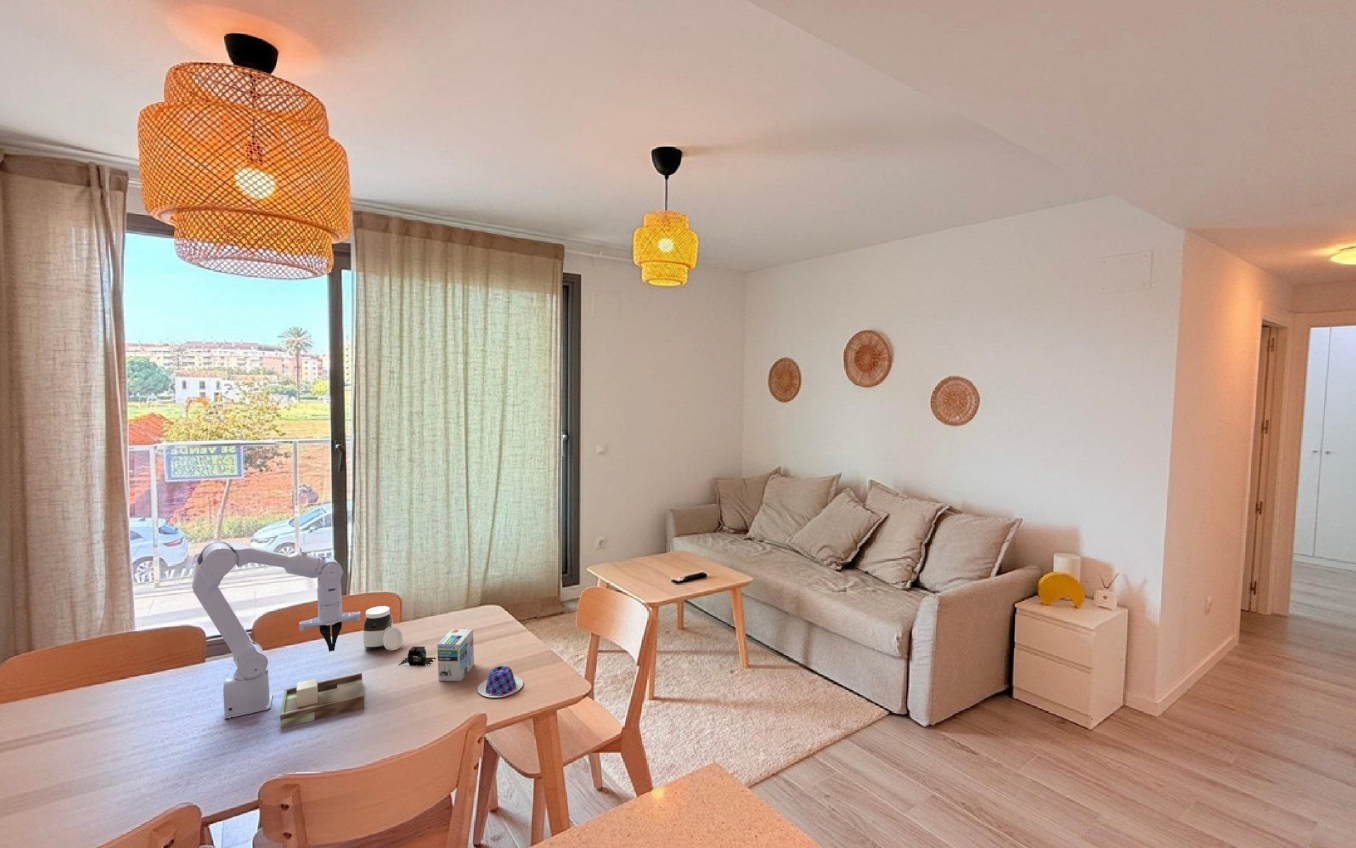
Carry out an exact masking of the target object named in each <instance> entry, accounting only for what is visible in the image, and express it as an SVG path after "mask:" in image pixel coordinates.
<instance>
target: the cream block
mask: <svg viewBox="0 0 1356 848" xmlns="http://www.w3.org/2000/svg"><path fill="white" fill-rule="evenodd" d="M318 682H319V681H318V678H312V679H309V680H304V681H300V682H296V683H297V684H296V687H297V707H301V706H305V705H309V704H314V703H318Z"/></svg>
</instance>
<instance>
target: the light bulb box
mask: <svg viewBox="0 0 1356 848" xmlns="http://www.w3.org/2000/svg"><path fill="white" fill-rule="evenodd" d="M436 646H437V666H438V667H437V671H438V672H437V673H438V674H437V676H438V681H443V682H444V681H446V682H450V681H451V682H461V681H462V680H463V679H464V678H465V676H467V674H468V673H469V671H470V670H471V669H472V668H473V667H474V665H475V655H474V653H475V652H474V650H475V649H474V647H475V646H474V629H462V628H461V629H459V628H451V630H449V632H447V634H446V635H445V636H444V637H443V638H442V639H441V640H440V641H439V642H438V643H437V645H436Z"/></svg>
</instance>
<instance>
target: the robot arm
mask: <svg viewBox="0 0 1356 848" xmlns="http://www.w3.org/2000/svg"><path fill="white" fill-rule="evenodd" d="M250 563H253V564H258V565H265V566H271V567H277V568H278V567H279V568H283V569H284V571H285V572H286V573H287V574H289V575H294V576H299V577H304V578H309V579H315V578H317V581H316V582H317V587H316V590H317V592H316V594H317V615H318V616H317V617H314V618H310V619H307V620H302V621H299V632H301V631H305V630H308V629H313V628H319V633H320V634H321V636H322V637H323V639H324V640H325V642H326V645H327V648H328V652H329V653H330V652H334V651H336V650H335V649H336V643H337V640H338V636H339V635H340V632H341V630H342V628H343V623H348V622H353V621H356V622H358V621H361V611H352V612H343V605H342V604H343V603H342V600H343V598H342V584H341V578H342V576H343V575H344V570H343V568H342V565H341V564H340V563H339V562H338V561H337V560H336V559H334V558H332V557H330V556H326V555H325V556H324V555H320V556H316V555H312V554H308V551H304V550H301V551H300V552H298V551H295V552H292V553H291V554H283V553H279V552H276V551H272V550H267V549H264V548H259V547H255V546H251V545H246V544H242V543H237V542H229V543H228V542H226V541H222V540H221V541H220V540H217V541H213V542H210V543H208V544H207V545H205V546H204V547H203V548H202V550H201V551H200V553H199V555H198V556H197V558H196V565H195V568H194V569H195V571H194V575H193V579H192V583H191V587H192V591H193V593H194V594H195V596H196V598H197V600H198V601H199V603H200V604H201V606H202V607H203V610H205V612H206V614H207V615H208V617H209V618H210V620H211V622H212V624H213V625H214V626H215V628H216V629H217V631H218V632H219V635H220V636H221V637H222V639H223V640H224V642H225V643H226V645H227V646H228V648H229V650H230V652H231V654H232V655H233V657H232V659H233V662H234V664H235V666H236V667H237V668H236V670H235V672H234V673H233V675H231V676H228V677H226V678H224V681H223V694H222V695H223V710H224V718H225V719H224V720H227V719H226V718H228V719H232V718H231V717H233V718H237V717H240V716H244V715H250V714H254V713H258V712H263V711H266V710H268V711H269V710H270V709H271V706H272V703H273V702H272V701H273V695H274V694H273V693H270V681H269V678H270V677H269V665H268V664H269V660H268V657H267V656H266V655H265V652H264V650H263V647H262V645H261V644H259V643H258V642H255V641H254V640H253V639H252V638H251V636H250V635H249V634H248V632H247V630H246V629H245V628H244V626H243V624H242V622H241V621H240V619H239V618H238V616H237V615H236V613H235V611H234V610H233V608H232V606H231V605H230V604H229V601H228V600H227V598H226V597H225V595H224V593H223V592H222V590H221V589H220V587H219V586H220V585H221V582H222V581H223V579H224V577H225V576H226V575H227V574H228V573H229V572H231V570H233V568H234V567H235V565H236V566H237V568H241V567H244V566H245V565H247V564H250Z"/></svg>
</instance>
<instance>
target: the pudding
mask: <svg viewBox="0 0 1356 848" xmlns="http://www.w3.org/2000/svg"><path fill="white" fill-rule="evenodd" d="M516 683H517V684H516ZM485 686H486V688H485ZM523 686H524V681H523V680H522V678H520V677H518V676H516V675H514V671H513V669H512V668H510V667H509V666H507V665H499V666H495V667H493V668H492V669H490V670H489V673H488V677H487V679H485V680H484V681H482V682H481V683H480V684H479V685H478V686H477V691H478V693H479V694H480V695H482V697H483V696H484V697H487V698H503V697H507V696H510V695H513V694H515V693H517V692H518V691H520V689H521V688H522V687H523ZM484 688H485V690H484ZM515 688H516V689H515ZM484 691H485V692H484ZM486 692H487V694H485V693H486ZM490 693H491V694H490ZM506 693H508V694H506ZM489 694H490V695H502V694H505V695H504V696H489Z"/></svg>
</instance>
